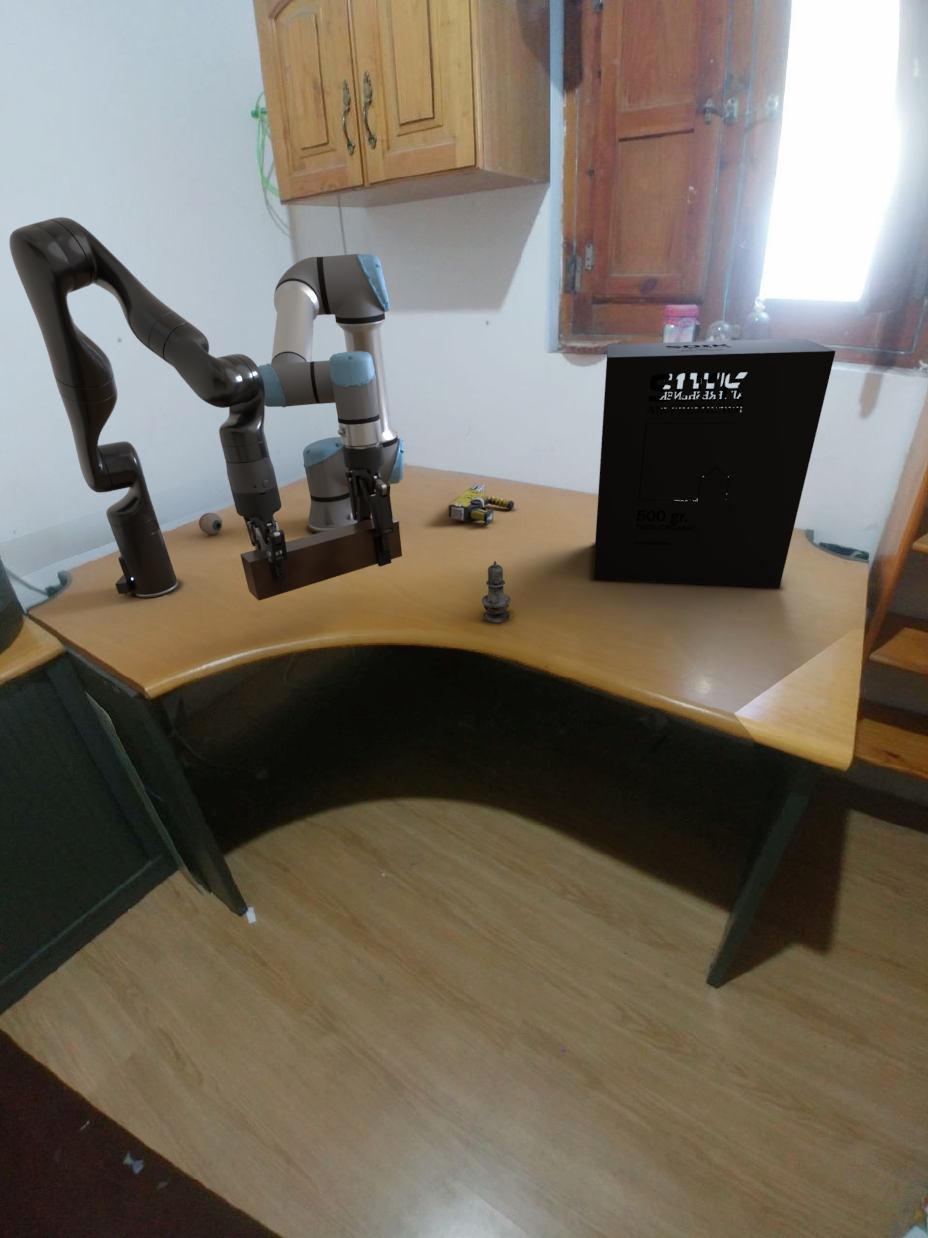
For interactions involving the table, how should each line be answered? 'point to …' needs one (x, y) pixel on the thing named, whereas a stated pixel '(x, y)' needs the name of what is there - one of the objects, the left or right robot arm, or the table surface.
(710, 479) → the cardboard box
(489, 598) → the grey tall turned piece
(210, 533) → the eyeball
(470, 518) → the toy gun
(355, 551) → the plank
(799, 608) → the table surface
